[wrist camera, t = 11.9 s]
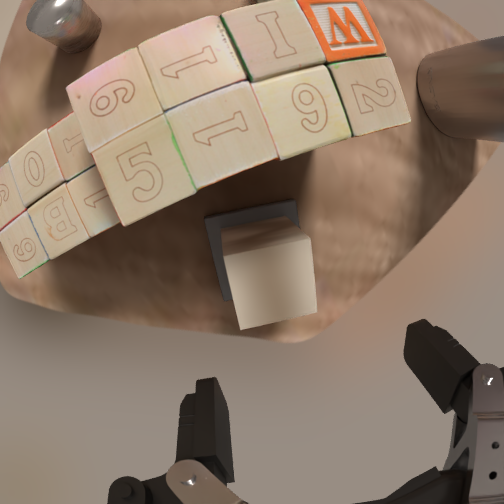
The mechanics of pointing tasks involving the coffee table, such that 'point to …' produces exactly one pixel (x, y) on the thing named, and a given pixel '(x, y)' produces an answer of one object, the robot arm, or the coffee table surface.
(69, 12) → the grey capsule
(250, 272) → the cream block
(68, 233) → the stack of blocks
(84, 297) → the coffee table surface
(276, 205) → the charcoal pad
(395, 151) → the coffee table surface
